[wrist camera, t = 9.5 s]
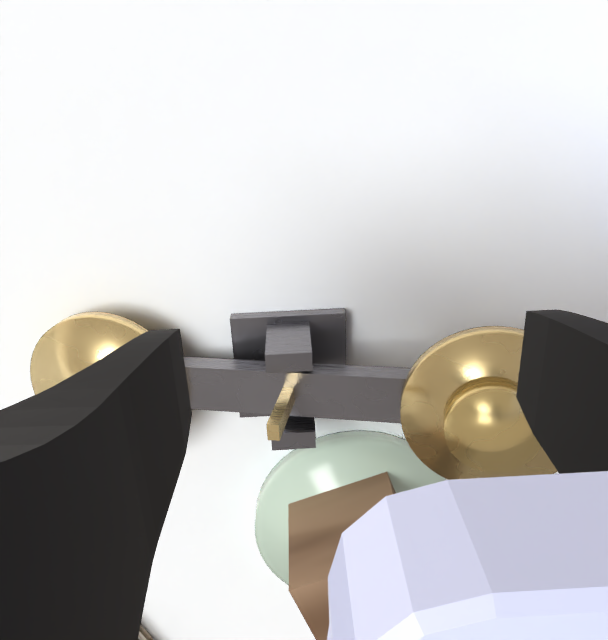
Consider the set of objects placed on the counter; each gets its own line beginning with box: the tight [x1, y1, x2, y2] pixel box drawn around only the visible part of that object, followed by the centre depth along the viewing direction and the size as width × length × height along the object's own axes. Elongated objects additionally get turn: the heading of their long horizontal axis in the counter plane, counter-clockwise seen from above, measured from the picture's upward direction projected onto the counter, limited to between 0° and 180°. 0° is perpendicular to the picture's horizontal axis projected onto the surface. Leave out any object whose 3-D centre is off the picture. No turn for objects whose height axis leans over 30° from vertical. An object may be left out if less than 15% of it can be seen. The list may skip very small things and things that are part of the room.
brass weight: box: [444, 376, 541, 472], centre depth 18 cm, size 3×3×1 cm
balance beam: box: [30, 312, 557, 480], centre depth 20 cm, size 20×6×3 cm, turn 92°
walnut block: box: [288, 472, 396, 640], centre depth 23 cm, size 4×4×4 cm
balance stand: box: [230, 308, 346, 450], centre depth 21 cm, size 4×4×3 cm
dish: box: [255, 431, 447, 585], centre depth 26 cm, size 9×9×1 cm
